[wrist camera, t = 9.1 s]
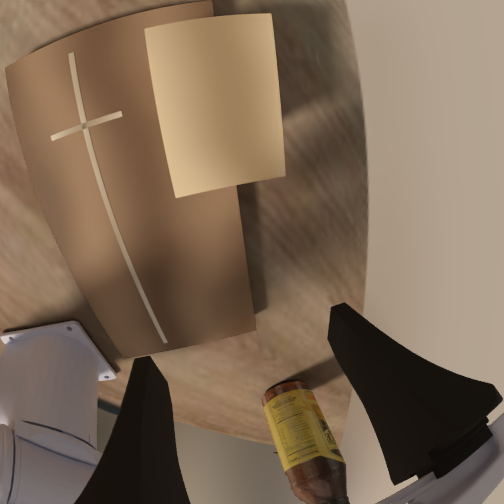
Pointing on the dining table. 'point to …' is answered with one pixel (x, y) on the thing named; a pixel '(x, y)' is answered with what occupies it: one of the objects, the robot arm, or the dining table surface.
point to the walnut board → (128, 191)
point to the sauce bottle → (305, 444)
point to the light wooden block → (217, 100)
